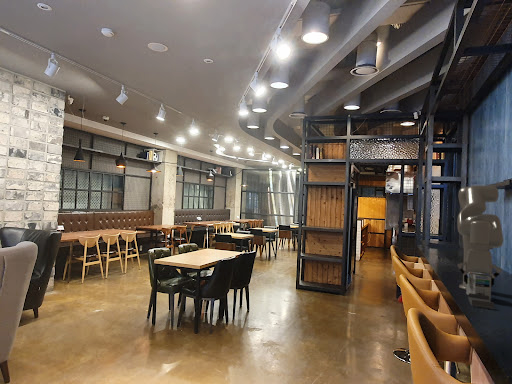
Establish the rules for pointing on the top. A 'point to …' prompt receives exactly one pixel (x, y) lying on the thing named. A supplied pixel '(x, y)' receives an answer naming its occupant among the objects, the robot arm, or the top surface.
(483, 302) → the tray
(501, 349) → the top surface
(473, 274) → the light bulb box
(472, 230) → the robot arm
